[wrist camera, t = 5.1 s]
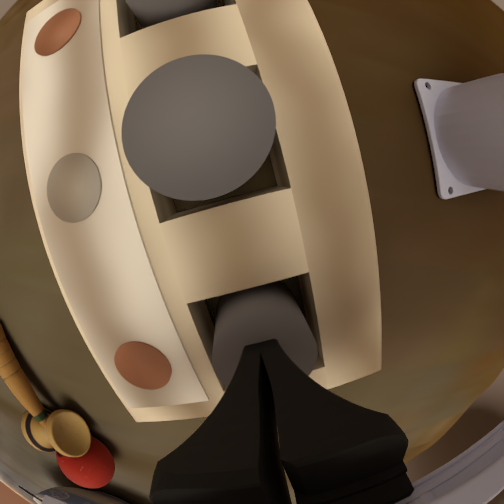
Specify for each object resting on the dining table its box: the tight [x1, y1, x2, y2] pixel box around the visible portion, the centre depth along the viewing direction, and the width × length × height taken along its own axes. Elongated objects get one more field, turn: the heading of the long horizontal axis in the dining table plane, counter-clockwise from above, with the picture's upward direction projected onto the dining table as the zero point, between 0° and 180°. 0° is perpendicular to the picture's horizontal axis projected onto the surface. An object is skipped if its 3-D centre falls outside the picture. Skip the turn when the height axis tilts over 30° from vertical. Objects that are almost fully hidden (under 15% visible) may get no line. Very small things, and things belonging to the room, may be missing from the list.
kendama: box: [0, 323, 115, 488], centre depth 15 cm, size 8×6×18 cm
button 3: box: [212, 280, 318, 387], centre depth 13 cm, size 4×4×4 cm
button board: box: [19, 0, 382, 422], centre depth 11 cm, size 15×27×4 cm, turn 14°
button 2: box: [121, 54, 276, 201], centre depth 9 cm, size 4×4×4 cm
